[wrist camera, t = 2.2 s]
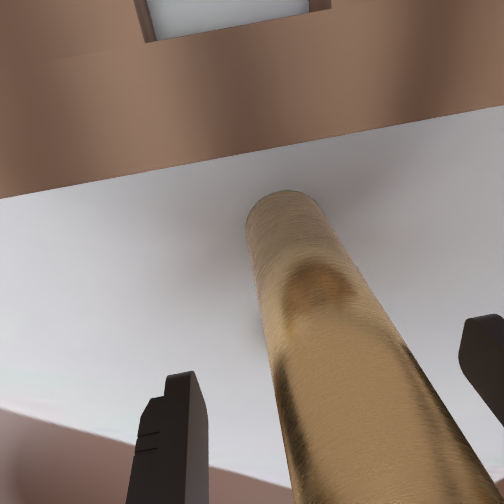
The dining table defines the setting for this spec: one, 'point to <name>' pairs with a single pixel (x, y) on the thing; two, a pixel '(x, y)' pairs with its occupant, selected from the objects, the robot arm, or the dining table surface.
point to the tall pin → (349, 375)
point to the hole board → (226, 82)
